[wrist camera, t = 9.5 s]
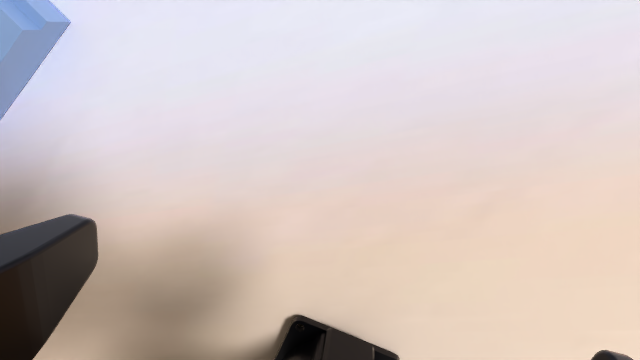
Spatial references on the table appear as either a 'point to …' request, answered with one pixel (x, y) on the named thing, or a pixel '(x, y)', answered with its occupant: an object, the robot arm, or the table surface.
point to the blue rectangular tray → (25, 42)
